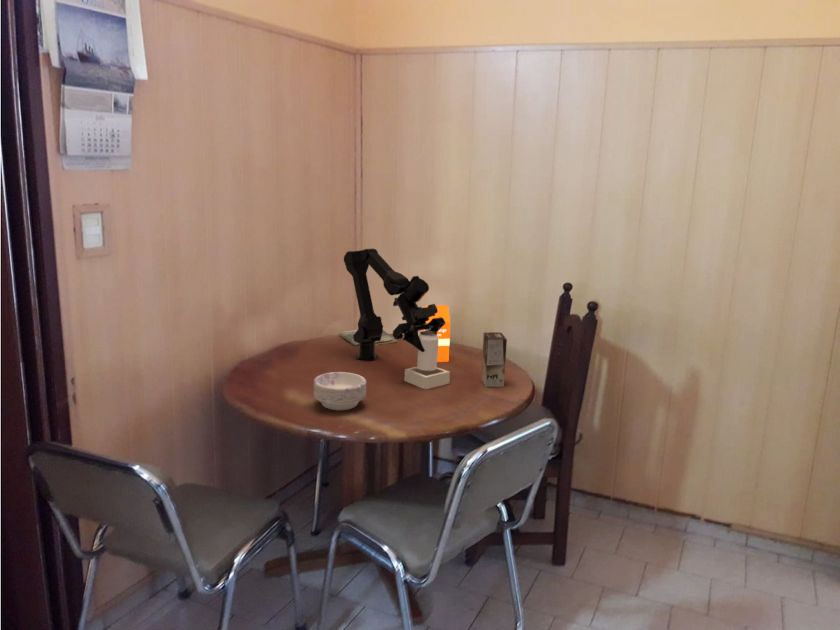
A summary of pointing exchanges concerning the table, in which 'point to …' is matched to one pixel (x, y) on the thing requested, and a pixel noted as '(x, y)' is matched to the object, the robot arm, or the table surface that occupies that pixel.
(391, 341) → the dish towel
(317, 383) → the paper bowls
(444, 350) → the orange juice
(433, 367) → the can
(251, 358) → the table surface
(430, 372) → the collar
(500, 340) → the coffee box
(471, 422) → the table surface
